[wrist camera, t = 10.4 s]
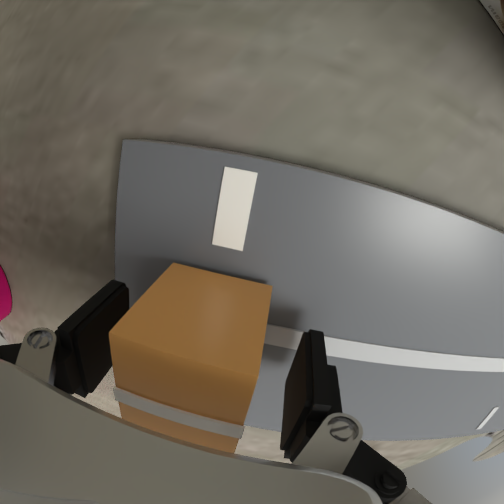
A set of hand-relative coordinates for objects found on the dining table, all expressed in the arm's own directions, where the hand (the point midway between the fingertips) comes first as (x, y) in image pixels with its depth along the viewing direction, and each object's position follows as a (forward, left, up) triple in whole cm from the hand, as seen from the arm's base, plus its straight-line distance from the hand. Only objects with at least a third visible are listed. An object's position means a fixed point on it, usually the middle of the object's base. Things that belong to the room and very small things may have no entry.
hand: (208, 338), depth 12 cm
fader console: (-10, 0, -3) cm, 11 cm away
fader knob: (0, 0, -1) cm, 1 cm away
